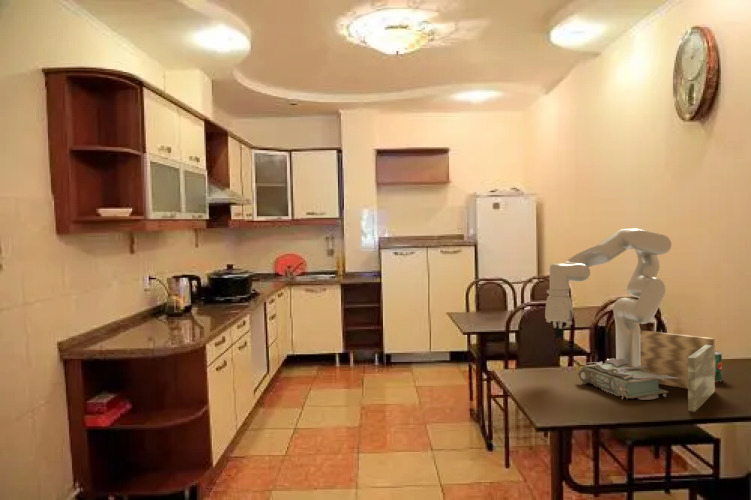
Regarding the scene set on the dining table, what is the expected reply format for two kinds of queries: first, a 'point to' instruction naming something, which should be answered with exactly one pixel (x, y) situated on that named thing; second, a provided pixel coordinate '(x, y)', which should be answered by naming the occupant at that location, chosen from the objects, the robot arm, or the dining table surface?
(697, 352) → the wooden corner bracket
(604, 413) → the dining table surface
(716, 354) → the canned tomato
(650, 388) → the ornate book
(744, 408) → the dining table surface
